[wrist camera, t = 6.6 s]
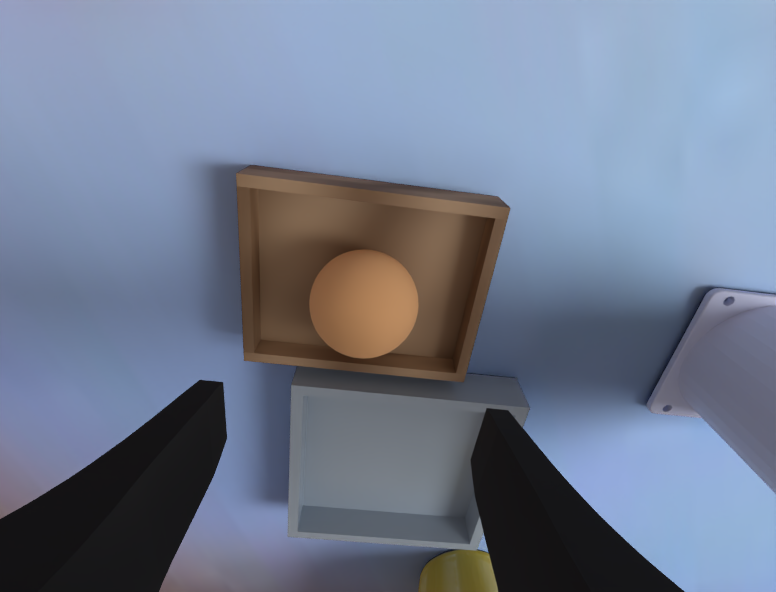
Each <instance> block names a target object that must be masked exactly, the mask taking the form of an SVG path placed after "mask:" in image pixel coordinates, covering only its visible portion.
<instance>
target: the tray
mask: <svg viewBox="0 0 776 592" xmlns="http://www.w3.org/2000/svg"><path fill="white" fill-rule="evenodd" d="M236 181H237V205H238V228H239V252H240V276H241V300H242V324H243V348H244V361H253V362H263V363H273V364H283V365H293V366H304V367H314V368H324V369H334V370H344V371H354V372H364V373H374V374H384V375H395V376H405V377H415V378H425V379H435V380H445V381H455V382H464V380H465V376H466V372H467V369H468V365H469V361H470V357H471V354H472V350H473V346H474V342H475V339H476V335H477V331H478V327H479V324H480V320H481V316H482V312H483V309H484V305H485V301H486V297H487V294H488V290H489V286H490V283H491V279H492V275H493V271H494V268H495V264H496V260H497V256H498V253H499V249H500V245H501V241H502V238H503V234H504V230H505V226H506V223H507V219H508V215H509V211H510V207H509V206H508V205H507V204H505V203H504V202H503V201H502V200H501V199H500V198H499V197H497V196H489V195H481V194H474V193H466V192H458V191H450V190H442V189H435V188H427V187H419V186H411V185H404V184H396V183H388V182H380V181H373V180H365V179H357V178H349V177H342V176H334V175H326V174H318V173H310V172H303V171H295V170H287V169H279V168H272V167H264V166H256V165H250V166H248V167H247V168H245V169H243V170H241V171H239V172H238V173H236ZM362 249H366V250H375V251H379V252H382V253H384V254H387V255H389V256H391V257H392V258H394V259H396V260H397V261H398V262H399V263H401V264H402V265H403V266H404V267H405V269H406V270H407V271H408V273H409V274H410V275H411V277H412V279H413V281H414V284H415V286H416V289H417V294H418V305H419V307H418V314H417V318H416V322H415V324H414V327H413V329H412V330H411V332H410V334H409V335H408V337H407V338H406V339H405V340H404V341H403V342H402V343H401V344H400V345H399V346H398V347H397V348H395V349H394V350H392V351H391V352H389V353H387V354H384V355H381V356H378V357H374V358H353V357H349V356H346V355H344V354H341V353H339V352H337V351H335V350H334V349H332V348H331V347H330V346H329V345H327V344H326V343H325V342H324V341H323V339H322V338H321V337H320V336H319V334H318V333H317V331H316V329H315V327H314V325H313V322H312V319H311V315H310V308H309V300H310V293H311V289H312V285H313V283H314V281H315V279H316V277H317V275H318V274H319V272H320V271H321V270H322V269H323V267H324V266H325V265H326V264H327V263H329V262H330V261H331V260H332V259H334V258H335V257H337V256H339V255H341V254H343V253H346V252H349V251H354V250H362Z"/></svg>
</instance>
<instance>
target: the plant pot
mask: <svg viewBox="0 0 776 592" xmlns="http://www.w3.org/2000/svg"><path fill="white" fill-rule="evenodd" d="M418 592H498V588H497V583H496V580H495V576H494V572H493V568H492V564H491V560H490V556H489V553H486V552H483V551H479V550H477V551H475V550H462V549H459V550H453V551H449V552H446V553H443V554H441V555H438V556H436V557H435V558H433V559H432V560H430V561H429V562H428V563H427V564H426V565H425V567H424V568H423V570H422V572H421V575H420V582H419V590H418Z"/></svg>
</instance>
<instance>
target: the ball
mask: <svg viewBox="0 0 776 592" xmlns="http://www.w3.org/2000/svg"><path fill="white" fill-rule="evenodd" d="M418 307H419V305H418V294H417V289H416V286H415V284H414V281H413V279H412V277H411V275H410V274H409V273H408V271H407V270H406V269H405V267H404V266H403V265H402V264H401V263H399V262H398V261H397V260H396V259H394V258H392V257H391V256H389V255H387V254H384V253H382V252H379V251H375V250H366V249H362V250H354V251H349V252H346V253H343V254H341V255H339V256H337V257H335V258H334V259H332V260H331V261H330V262H329V263H327V264H326V265H325V266H324V267H323V269H322V270H321V271H320V272H319V274H318V275H317V277H316V279H315V281H314V283H313V285H312V289H311V293H310V300H309V308H310V315H311V319H312V322H313V325H314V327H315V329H316V331H317V333H318V334H319V336H320V337H321V338H322V339H323V341H324V342H325V343H326V344H327V345H329V346H330V347H331V348H332V349H334V350H335V351H337V352H339V353H341V354H344V355H346V356H349V357H353V358H374V357H378V356H381V355H384V354H387V353H389V352H391V351H392V350H394V349H395V348H397V347H398V346H399V345H400V344H401V343H402V342H403V341H404V340H405V339H406V338H407V337H408V335H409V334H410V332H411V330H412V329H413V327H414V324H415V322H416V318H417V314H418Z"/></svg>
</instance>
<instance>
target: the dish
mask: <svg viewBox="0 0 776 592" xmlns="http://www.w3.org/2000/svg"><path fill="white" fill-rule="evenodd" d="M486 408H492V409H502V410H508V411H509V412H510V413H511V414H512V415H513V417H514V418H515V419H516V420H517V421H518V423H519V424H520V425H521V426H522V428H523V426H524V423H525V420H526V418H527V415H528V412H529V410H530V407H529V404H528V402H527V400H526V398H525V396H524V394H523V391H522V389H521V387H520V385H519V383H518V380H517V378H508V377H498V376H488V375H479V374H469V373H466V376H465V380H464V382H455V381H445V380H435V379H425V378H415V377H405V376H395V375H384V374H374V373H364V372H354V371H344V370H334V369H324V368H314V367H304V366H297V369H296V372H295V375H294V378H293V381H292V384H291V416H290V458H289V500H288V537H296V538H310V539H324V540H338V541H352V542H365V543H379V544H393V545H407V546H420V547H434V548H448V549H462V550H475V551H477V548H478V546H479V543H480V540H481V538H482V535H483V528H482V524H481V520H480V516H479V512H478V507H477V503H476V499H475V493H474V486H473V479H472V470H471V461H470V459H471V456H472V453H473V450H474V447H475V443H476V440H477V437H478V434H479V431H480V428H481V424H482V421H483V418H484V415H485V412H486Z"/></svg>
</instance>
